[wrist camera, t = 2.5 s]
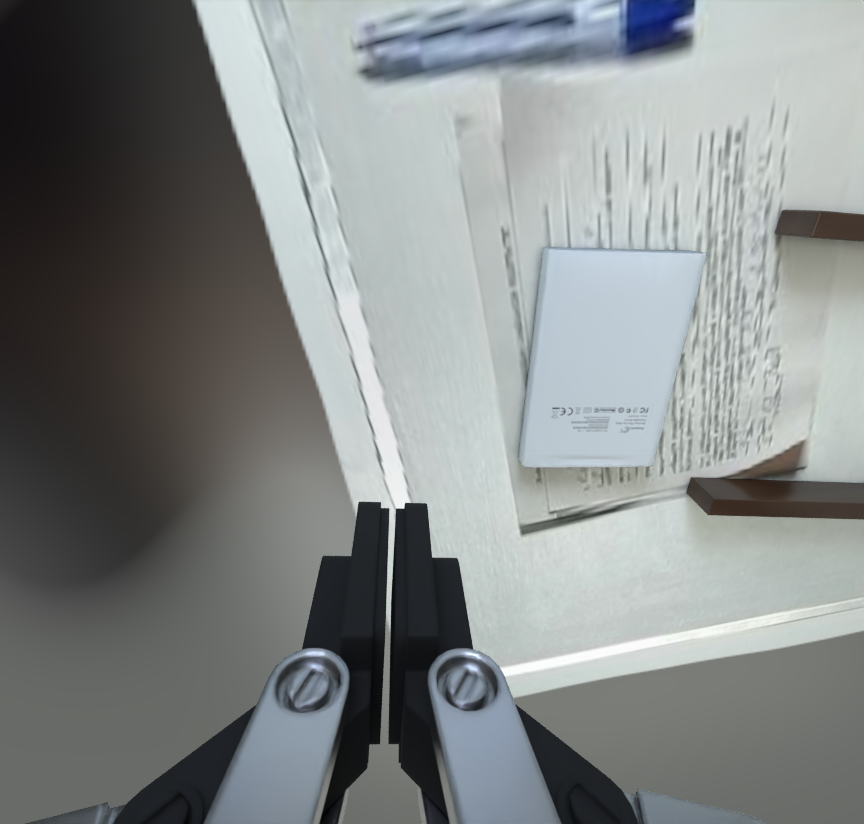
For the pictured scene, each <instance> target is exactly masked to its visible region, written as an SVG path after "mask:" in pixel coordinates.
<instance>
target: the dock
mask: <svg viewBox="0 0 864 824" xmlns="http://www.w3.org/2000/svg"><path fill="white" fill-rule="evenodd" d="M775 234H779V235H789V236H800V237H810V238H822V239H835V240H847V241H860V242H864V214H853V213H841V212H830V211H813V210H783V211H782V213H781V216H780V219H779V222H778V225H777V228H776V231H775ZM687 494H688V495H689V496H690V497H691V498H692V499H693V500H694V501H695V502H696V503H697V504H698V505H699V506H700V507H701V508H702V509H703V510H704V511H705V512H706V513H707V514H708V515H726V516H762V517H798V518H834V519H864V484H863V483H834V482H805V481H776V480H748V479H719V478H691V481H690V484H689V487H688V489H687Z"/></svg>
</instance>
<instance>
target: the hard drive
mask: <svg viewBox="0 0 864 824" xmlns="http://www.w3.org/2000/svg"><path fill="white" fill-rule="evenodd" d="M706 255H707V254H706V253H703V252H697V251H682V250H681V251H676V250H637V249H598V248H561V247H544V248H543V251H542V260H541V269H540V277H539V286H538V294H537V303H536V312H535V321H534V329H533V337H532V345H531V355H530V363H529V371H528V380H527V389H526V397H525V406H524V415H523V423H522V432H521V440H520V445H519V454H518V458H519V460H520V462H521V464H522V466H524V467H529V468H554V467H649V466H653V464H654V460H655V456H656V452H657V448H658V444H659V440H660V437H661V433H662V429H663V425H664V421H665V417H666V413H667V410H668V406H669V402H670V398H671V394H672V390H673V386H674V382H675V378H676V375H677V370H678V366H679V363H680V359H681V355H682V351H683V347H684V343H685V339H686V335H687V331H688V327H689V323H690V320H691V316H692V312H693V307H694V304H695V300H696V296H697V291H698V287H699V283H700V279H701V275H702V271H703V267H704V264H705V260H706Z"/></svg>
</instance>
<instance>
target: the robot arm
mask: <svg viewBox="0 0 864 824" xmlns="http://www.w3.org/2000/svg"><path fill="white" fill-rule="evenodd" d="M388 531H389V508H381V502H359V504H358V511H357V519H356V526H355V534H354V541H353V548H352V556H323V557H322V561H321V565H320V570H319V574H318V578H317V583H316V588H315V592H314V597H313V602H312V606H311V611H310V615H309V620H308V624H307V629H306V634H305V638H304V643H303V647H302V650H300V651H296V652H295V653H293V654H291V655H289V656H287V657H285V658H284V659H283V660H282V661H281V662H280V663H279V664H278V665H276V666H275V668H274V669H273V671H272V673H271V674H270V676H269V678H268V680H267V682H266V685H265V687H264V689H263V691H262V693H261V696H260V698H259V700H258V702H257V704H256V706H254V707H253V708H251V709H250V710H249V711H247V712H246V713H245V714H243V715H242V716H241V717H239V718H238V719H237V720H235V721H234V722H233V723H231V724H230V725H229V726H227V727H226V728H224V729H223V730H222V731H221V732H219V733H218V734H216V735H215V736H214V737H212V738H211V739H210V740H208V741H207V742H206V743H204V744H203V745H202V746H200V747H199V748H198V749H196V750H195V751H194V752H192V753H191V754H190V755H188V756H187V757H186V758H184V759H183V760H181V761H180V762H179V763H178V764H176V765H175V766H174V767H172V768H171V769H169V770H168V771H167V772H166V773H164V774H163V775H161V776H160V777H159V778H157V779H156V780H155V781H153V782H152V783H151V784H149V785H148V786H147V787H145V788H144V789H142V790H141V791H140V792H139V793H138V794H137V795H136V796H135V797H134V798H133V799H131V800H130V801H129V802H128V803H127V804H126V805H122V806H118V807H115V808H111V809H109V805H108V803H103V804H100V805H96V806H92V807H88V808H84V809H80V810H76V811H73V812H69V813H65V814H61V815H58V816H53V817H50V818H46V819H42V820H39V821H34V822H31V823H27V824H342V822H343V817H344V812H345V808H346V803H347V799H348V787H349V786H350V785H351V784H352V783H353V782H354V781H355V780H356V779H357V778H358V777H359V776H360V775H361V774H362V773H363V772H364V771H365V770H366V769H367V763H368V755H369V744H380V729H381V709H382V688H383V668H384V646H385V621H386V591H387V561H388ZM389 744H399V763H401V768H402V769H403V770H404V771H405V772H406V773H407V774H408V776H409V777H410V778H411V779H412V780H413V781H414V782H415V783H416V784H417V797H418V803H419V809H420V816H421V821H422V824H767V823H765V822H764V821H762V820H759V819H757V818H754V817H752V816H749V815H747V814H742V813H738V812H734V811H730V810H725V809H721V808H717V807H713V806H708V805H704V804H700V803H695V802H691V801H687V800H683V799H679V798H675V797H670V796H666V795H662V794H657V793H653V792H648V791H644V790H640V789H637V792H636V794H635V795H634V794H629V793H626V792H623V791H622V790H621V789H620V788H619V787H618V786H617V785H616V784H615V783H614V782H613V781H612V780H611V779H610V778H608V777H607V776H606V775H605V774H603V773H602V772H601V771H599V770H598V769H597V768H595V767H594V766H593V765H592V764H591V763H589V762H588V761H587V760H585V759H584V758H583V757H581V756H580V755H579V754H578V753H577V752H575V751H574V750H572V749H571V748H570V747H569V746H568V745H566V744H565V743H564V742H563V741H561V740H560V739H559V738H558V737H556V736H555V735H554V734H552V733H551V732H550V731H549V730H547V729H546V728H545V727H543V726H542V725H541V724H540V723H538V722H537V721H536V720H535V719H533V718H532V717H531V716H529V715H528V714H527V713H526V712H525V711H523V710H522V709H521V708H519V707H518V706H517V705H516V704H515V702H514V700H513V697H512V695H511V692H510V689H509V687H508V684H507V682H506V679H505V676H504V674H503V673H502V671H501V669H500V667H499V666H498V665H497V664H496V663H495V662H494V661H493V660H492V659H491V658H490V657H489V656H487V655H485V654H483V653H482V652H480V651H476V650H473V646H472V639H471V633H470V627H469V621H468V615H467V609H466V603H465V597H464V591H463V585H462V579H461V573H460V567H459V562H458V559H457V558H432V553H431V542H430V531H429V520H428V509H427V504H425V503H405V509H396V522H395V541H394V560H393V579H392V599H391V644H390V694H389Z"/></svg>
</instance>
